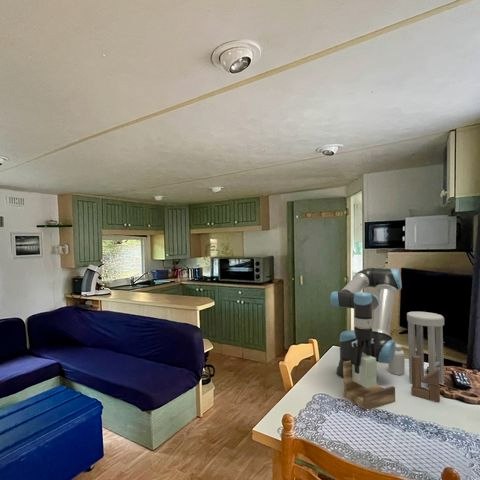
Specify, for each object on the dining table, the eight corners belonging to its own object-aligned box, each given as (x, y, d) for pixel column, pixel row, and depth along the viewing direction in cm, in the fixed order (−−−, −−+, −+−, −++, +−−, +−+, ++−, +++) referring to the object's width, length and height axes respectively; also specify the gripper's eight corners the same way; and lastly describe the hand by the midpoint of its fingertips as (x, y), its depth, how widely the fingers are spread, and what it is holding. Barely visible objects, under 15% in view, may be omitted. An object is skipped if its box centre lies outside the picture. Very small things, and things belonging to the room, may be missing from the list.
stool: (403, 382, 147) (401, 313, 148) (416, 375, 156) (415, 310, 157) (437, 395, 134) (435, 319, 136) (450, 385, 143) (448, 315, 145)
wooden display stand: (343, 396, 133) (343, 361, 134) (372, 389, 141) (371, 355, 141) (365, 410, 122) (365, 372, 122) (395, 401, 129) (394, 365, 129)
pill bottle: (398, 376, 154) (398, 348, 155) (385, 371, 161) (384, 344, 162) (408, 373, 158) (407, 346, 158) (394, 368, 165) (393, 341, 165)
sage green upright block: (352, 380, 132) (352, 354, 133) (362, 378, 135) (361, 352, 135) (366, 388, 125) (366, 360, 125) (376, 385, 127) (376, 358, 128)
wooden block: (439, 402, 128) (438, 361, 128) (411, 395, 135) (410, 356, 135) (440, 399, 131) (438, 359, 131) (412, 392, 137) (411, 354, 138)
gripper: (353, 331, 124) (354, 386, 123) (385, 326, 131) (386, 378, 130) (341, 327, 130) (341, 379, 130) (371, 322, 138) (372, 371, 137)
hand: (364, 378), depth 130 cm, fingers closed on sage green upright block, 6 cm apart
